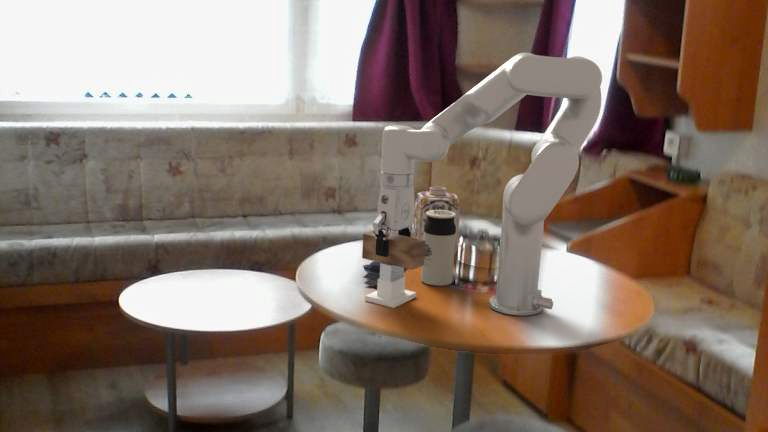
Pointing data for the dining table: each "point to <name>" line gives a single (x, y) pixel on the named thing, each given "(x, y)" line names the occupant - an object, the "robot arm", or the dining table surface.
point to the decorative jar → (435, 201)
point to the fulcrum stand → (390, 287)
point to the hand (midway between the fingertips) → (393, 251)
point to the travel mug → (439, 248)
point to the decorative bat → (372, 273)
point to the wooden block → (396, 250)
